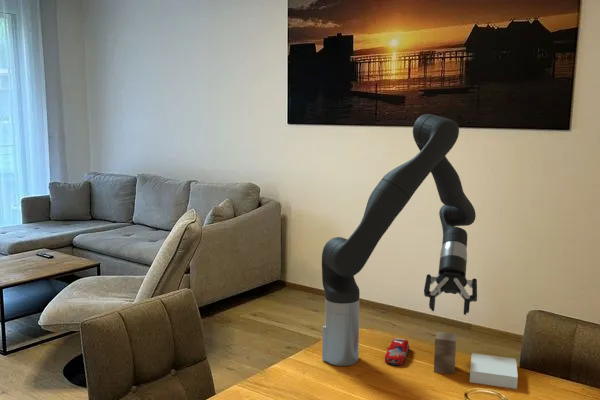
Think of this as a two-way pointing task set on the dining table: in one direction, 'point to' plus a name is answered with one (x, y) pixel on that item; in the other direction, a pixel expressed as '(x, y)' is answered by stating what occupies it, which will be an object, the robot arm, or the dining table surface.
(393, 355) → the race car
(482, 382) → the riser
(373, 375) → the dining table surface
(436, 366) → the walnut block
